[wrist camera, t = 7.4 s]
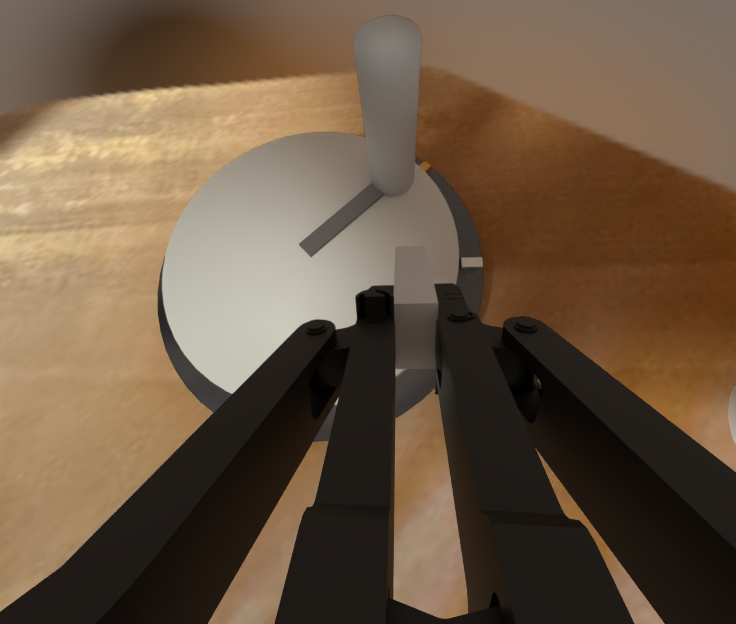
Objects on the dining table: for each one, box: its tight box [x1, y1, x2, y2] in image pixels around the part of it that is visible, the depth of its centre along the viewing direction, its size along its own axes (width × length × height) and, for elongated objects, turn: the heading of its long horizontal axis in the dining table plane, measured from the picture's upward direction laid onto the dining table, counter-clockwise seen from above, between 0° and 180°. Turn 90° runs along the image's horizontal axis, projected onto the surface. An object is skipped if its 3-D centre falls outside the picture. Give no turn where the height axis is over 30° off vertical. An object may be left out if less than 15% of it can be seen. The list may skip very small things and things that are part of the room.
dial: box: [162, 15, 459, 406], centre depth 19 cm, size 20×20×11 cm
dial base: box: [158, 157, 483, 442], centre depth 25 cm, size 24×24×2 cm
